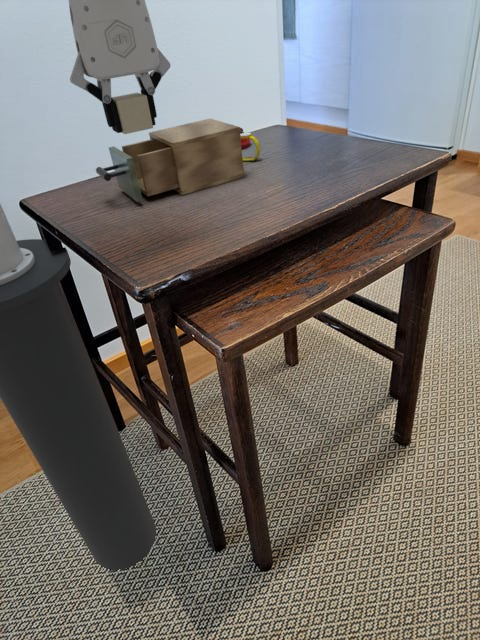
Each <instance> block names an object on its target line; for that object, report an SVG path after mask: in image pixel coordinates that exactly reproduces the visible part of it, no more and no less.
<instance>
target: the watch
mask: <svg viewBox="0 0 480 640" xmlns="http://www.w3.org/2000/svg"><path fill="white" fill-rule="evenodd" d="M240 138H241V139H245V138H249V139H250V141H252V142H253V144H254V145H255V148H256V153H255V156H254V157H245V156H243V155H242V158H243V162H248V161H249V162H253V161H255V160H257V158H258V157H259V156H260V153H261V144H260V141H259V140H258V139H257V138H256V137H255V136H254V135H252V132H244V133H242V134H240Z"/></svg>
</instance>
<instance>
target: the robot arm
mask: <svg viewBox="0 0 480 640" xmlns="http://www.w3.org/2000/svg"><path fill="white" fill-rule="evenodd" d="M68 6H69V15H70V21H71V26H72V27H71V28H72V32H73V37H74V43H75V47H76V52H77V55H76V59H75V60H74V61H75V62H74V65H73V68H72V70H71V73H70V76H69V81H70V83H71V84H72V85H74V86H75V87H78V88H80V89H82V90H83V91H86V92H87V93H89V94H90V95H92V97H94V98H96V99H97V100H98V101H100V102H101V104H102V109H103V111H104V116H105V119H106V123H107V126H108V127H109V128H112V131H114V132H115V133H117V134H121V133H122V126H121V122H120V118H119V114H118V110H117V106H116V103H114V102H113V99H112V97H113V96H112V79H116V78H121V77H127V76H134V77H135V78H136V81H137V84H138V85H139V88H140V94H143V95H147V100H148V105H149V110H150V115H151V120H152V125H153V126H156V119H155V118H157V116H158V115H157V114H158V113H157V109H156V104H155V99H154V95H155V93H156V90H157V87H158V86H159V84H160V82H161V80H162V79H163V77H164V76H165V75H166V73H167V72H168V71H169V69H170V68H171V62H170V61H169V60H168V59H167V57H166V56H165V55H164V54H163V53H162V52H161V50H160V49H159V48H158V45H157V40H156V36H155V32H154V28H153V25H152V20H151V17H150V13H149V10H148V7H147V4H146V0H68ZM149 72H150V73H149ZM85 76H87V77H88V78H93V79H96V84H94V83H92V82H90V81H89V80H87V79H86V78H85ZM17 241H18V240H17V238H16V237H15V234H14V231H13V229H12V227H11V225H10V222H9V220H8V218H7V215H6V213H5V210H4V209H3V206H2V204H1V203H0V286H1V285H4V284H6V283H9V282H11V281H13V280H15V279H17V278H19V277H20V276H22V275H24V274H25V273H26V272H28V271H29V270H30V269H31V268H32V266H33V265H34V263H35V258H34V255H33V253H32V252H31V251H30V250H27V249H24V248H19V246H18V243H17Z"/></svg>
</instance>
